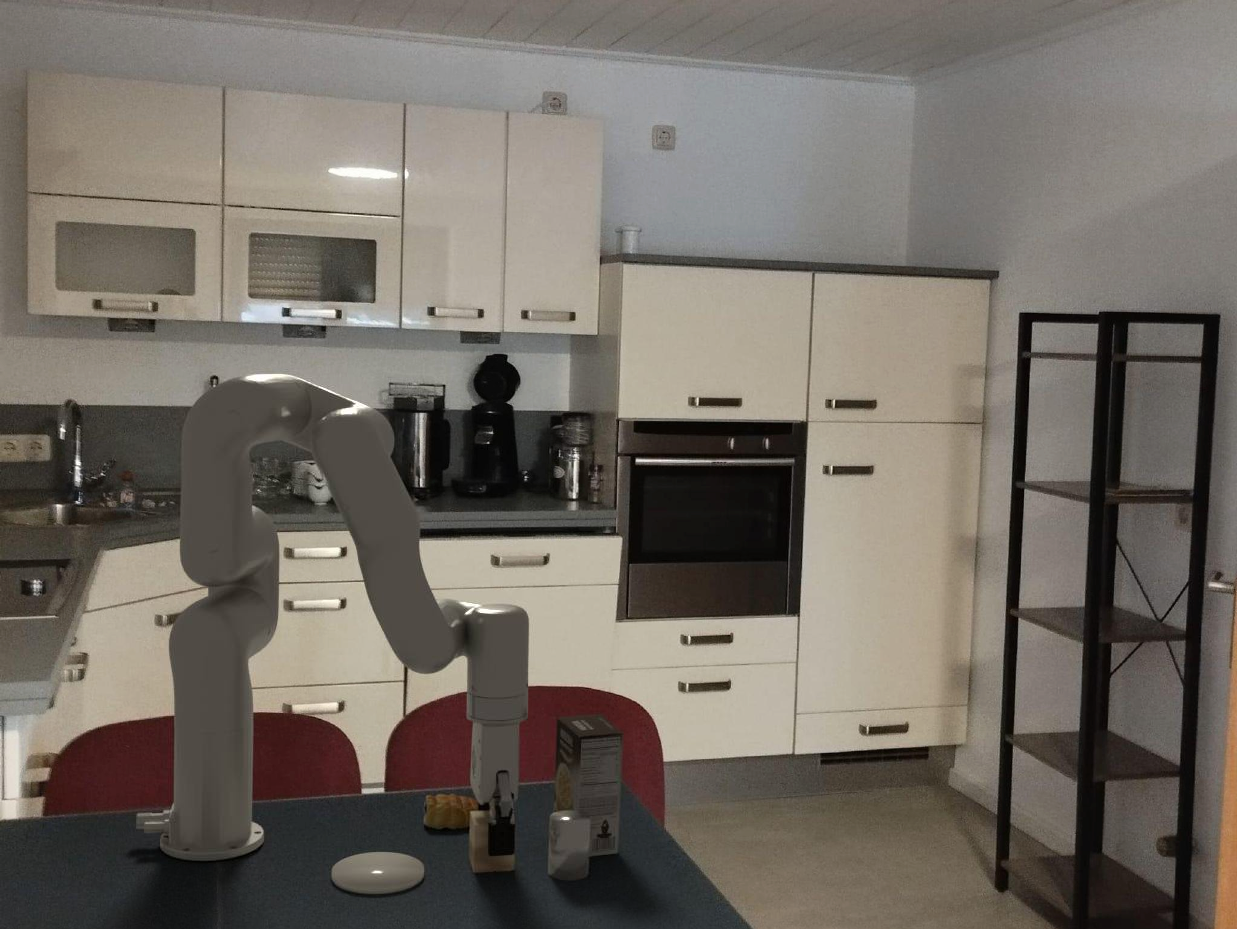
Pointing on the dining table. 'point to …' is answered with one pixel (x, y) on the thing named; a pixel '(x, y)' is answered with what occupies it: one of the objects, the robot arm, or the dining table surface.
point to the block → (485, 846)
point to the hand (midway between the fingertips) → (495, 840)
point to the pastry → (448, 811)
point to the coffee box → (590, 776)
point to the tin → (569, 845)
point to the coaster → (377, 873)
